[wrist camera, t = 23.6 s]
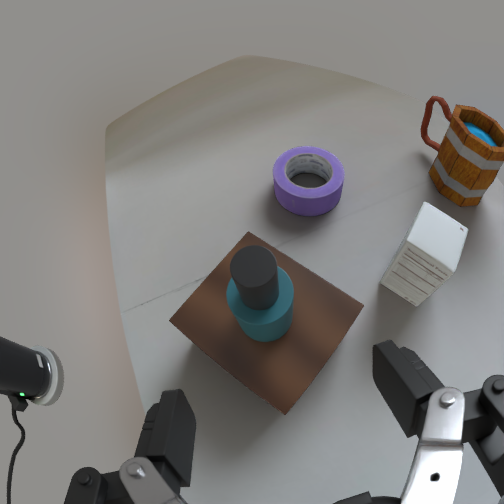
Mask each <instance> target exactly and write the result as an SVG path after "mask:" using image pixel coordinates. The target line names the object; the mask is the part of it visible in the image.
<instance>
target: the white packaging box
mask: <svg viewBox="0 0 504 504" xmlns="http://www.w3.org/2000/svg"><path fill="white" fill-rule="evenodd" d="M467 233H468V229H467V228H466V227H464V226H463V225H462V224H460V223H459V222H457V221H456V220H454V219H453V218H451V217H450V216H448V215H446V214H445V213H443V212H442V211H440V210H438V209H437V208H435V207H434V206H432V205H430V204H429V203H427V202H424V203H423V205H422V207H421V208H420V210H419V212H418V214H417V216H416V218H415V219H414V221H413V223H412V225H411V227H410V228H409V230H408V232H407V234H406V236H405V237H404V239H403V241H402V242H401V244H400V246H399V248H398V249H397V251H396V253H395V255H394V257H393V259H392V261H391V263H390V265H389V266H388V268H387V270H386V272H385V274H384V276H383V277H382V279H381V281H380V283H381V284H382V285H384V286H385V287H387V288H389V289H390V290H392V291H393V292H395V293H396V294H398V295H399V296H401V297H402V298H404V299H405V300H407V301H408V302H410V303H412V304H413V305H415V306H416V307H418V306H419V305H420V304H421V303H422V302H423V301H424V300H425V299H427V298H428V297H429V296H430V295H431V294H432V293H433V292H434V291H436V290H437V289H438V288H439V287H440V286H441V285H442V284H443V283H444V282H446V281H447V280H448V279H449V278H450V277H451V276H452V275H453V274H454V273H455V271H456V268H457V265H458V262H459V259H460V256H461V253H462V250H463V247H464V243H465V240H466V236H467Z"/></svg>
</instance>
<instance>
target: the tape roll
mask: <svg viewBox="0 0 504 504" xmlns="http://www.w3.org/2000/svg"><path fill="white" fill-rule="evenodd" d="M300 173H314V174H317V175H319V176H321V177H322V178H324V179H325V180H326V181H327V183H326V184H324V185H322V186H320V187H316V188H304V187H300V186H298V185H296V184H294V183H292V182H291V181H290V179H291V178H292V177H293V176H295V175H297V174H300ZM273 177H274V189H275V195H276V198H277V200H278V201H279V203H280V204H281V205H282V206H283V207H284V208H285V209H287V210H288V211H290V212H292V213H294V214H297V215H302V216H317V215H321V214H324V213H326V212H328V211H330V210H331V209H333V208H334V207H335V206H336V205H337V203H338V202H339V199H340V197H341V192H342V187H343V181H344V168H343V165H342V164H341V162H340V161H339V159H338V158H337V157H336V156H334V155H333V154H332V153H330V152H328V151H326V150H324V149H321V148H317V147H311V146H301V147H296V148H293V149H290V150H288V151H286V152H284V153H283V154H281V155H280V156H279V157H278V158H277V160H276V162H275V164H274V167H273Z"/></svg>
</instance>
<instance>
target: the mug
mask: <svg viewBox="0 0 504 504" xmlns="http://www.w3.org/2000/svg"><path fill="white" fill-rule="evenodd" d="M435 101H438V103H439V104H440V105H441V107H442V109H443V113H444V115H445V117H446V119H447V120H448V121H449V122H450V126H449V128H448V130H447V132H446V134H445V136H444V138H443V141H442V143H441V145H439V144H438V143H436V142H434V141H432V140H430V138H429V137H428V135H427V128H428V125H429V121H430V118H431V114H432V108H433V104H434V102H435ZM421 137H422V139H423V140H424V142H425V144H427V145H429V146H430V147H432V148H433V149H435V150H436V151H438V155H437V157H436V159H435V160H434V162H433V165H432V167H431V169H430V171H429V174H430V176H431V178H432V180H433V182H434V184H435V186H436V187H437V189H438V191H439V193H441V194H442V195H444V196H445V197H447V198H448V199H450V200H451V201H453V202H454V203H456V204H457V205H459V206H460V207H462V206H474V205H478V204H479V202H480V200H481V198H482V196H483V194H484V193H485V191H486V190H487V189H488V187H489V186H490V185H491V184H492V182H493V181H494V179H495V177H496V175H497V173H498V171H499V169H500V167H501V166H502V164H503V162H504V130H503V129H502V127H501V126H500V125H499V124H498V122H497V121H495V120H494V119H492V118H491V117H489V116H488V115H486V114H485V113H483V112H481V111H480V110H478V109H476V108H475V107H470V106H463V105H456V106H455V109H454V111H453V114H451V112H450V109H449V106H448V104H447V103H446V101H445V100H444V99H443V98H441V97H437V96H432V97H431V98H430V99H429V101H428V102H427V103H426V109H425V114H424V118H423V121H422V125H421Z"/></svg>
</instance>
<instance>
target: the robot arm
mask: <svg viewBox="0 0 504 504" xmlns="http://www.w3.org/2000/svg"><path fill="white" fill-rule="evenodd" d="M373 378H374V382H375V384H376V386H377V388H378V390H379V391H380V393H381V394H382V396H383V398H384V399H385V401H386V403H387V404H388V406H389V408H390V409H391V411H392V413H393V414H394V416H395V418H396V419H397V421H398V423H399V424H400V426H401V428H402V429H403V431H404V433H405V435H406V436H407V438H409V437H411V436H413V435H417V436H418V438H419V441H418V445H417V448H416V452H415V455H414V459H413V462H412V465H411V469H410V472H409V475H408V478H407V481H406V483H405V486H404V489H403V491H402V494H401V496H400V498H397V497H389V496H378V497H371V495H370V493H369V491H368V492H365V493H362V494H359V495H356V496H353V497H350V498H346V499H343V500H340V501H337V502H335V503H333V504H452V503H453V499H454V495H455V491H456V486H457V482H458V477H459V472H460V467H461V461H462V455H463V444H462V443H466V442H469V443H470V445H471V447H472V448H473V450H474V451H475V453H476V455H477V456H478V458H479V460H480V461H481V463H482V465H483V466H484V468H485V470H486V471H487V473H488V475H489V477H490V478H491V480H492V482H493V484H494V485H495V487H496V489H497V491H498V493H499V495H500V496H501V499H500V501H499V503H498V504H504V376H503V375H493V376H491V377H489V378H487V379H486V380H485V382H484V384H483V387H482V388H481V389H478V390H474V391H470V392H465V393H462V392H461V391H460V390H458V389H456V388H453V387H445V386H444V385H443V384H442V383H441V381H440V380H439V379H438V378H437V377H436V376H435V375H434V373H433V372H432V371H431V370H430V369H429V368H428V367H427V366H426V364H425V363H424V362H423V361H422V360H421V359H420V358H419V357H418V355H417V354H416V353H415V352H414V351H412V350H410V349H408V348H406V347H402V348H400V349H399V348H398V347H397V346H396V345H395V344H394V343H393V341H392V340H387V341H385V342H382V343H379V344H376V345H374V346H373ZM51 384H52V368H51V364H50V362H49V360H48V358H47V357H46V356H45V355H44V354H43V353H41V352H39V351H35V350H32V349H29V348H27V347H24V346H22V345H19V344H17V343H15V342H12V341H9V340H7V339H5V338H3V337H0V394H4V395H7V396H8V398H9V400H10V402H11V404H12V416H13V420H14V422H15V424H16V425H17V426H18V427H19V429H20V430H21V439H20V441H19V443H18V444H17V446H16V447H15V449H14V451H13V454H12V457H11V461H10V466H9V472H8V481H7V504H11V481H12V472H13V467H14V463H15V459H16V455H17V453H18V451H19V450H20V448H21V447H22V445H23V443H24V441H25V430H24V428H23V426H22V425H21V424H20V423H19V421H18V419H17V415H16V411H22V412H23V411H24V410H25V409H26V408H27V406H28V403H27V401H26V399H28V400H33V401H34V400H35V399H36V398H43V397H44V396H46V395H47V393H48V392H49V390H50V388H51ZM142 429H143V430H142V431H141V434H140V438H139V441H138V445H137V448H136V452H135V456H134V458H131V459H129V460H127V461H126V462H124V463H123V465H122V466H121V468H120V470H119V471H115V472H111V473H105V474H100V473H99V472H98V471H97V470H96V469H95V468H92V467H84V468H82V469H79V470H78V471H77V472H76V473H75V474H74V475H73V477H72V479H71V483H70V486H69V489H68V492H67V495H66V498H65V502H64V504H188V503H187V502H186V501H185V500H184V499H183V498H182V496H181V495H180V487H190V480H191V470H192V460H193V451H194V441H195V432H196V419H195V415H194V413H193V411H192V409H191V407H190V405H189V403H188V401H187V399H186V397H185V395H184V393H183V391H182V390H181V389H177V390H169V391H163V392H162V395H161V399H160V402H159V403H155V404H153V406H152V407H151V408H150V409H149V410H148V412H147V414H146V418H145V423H144V425H143V428H142Z"/></svg>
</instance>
